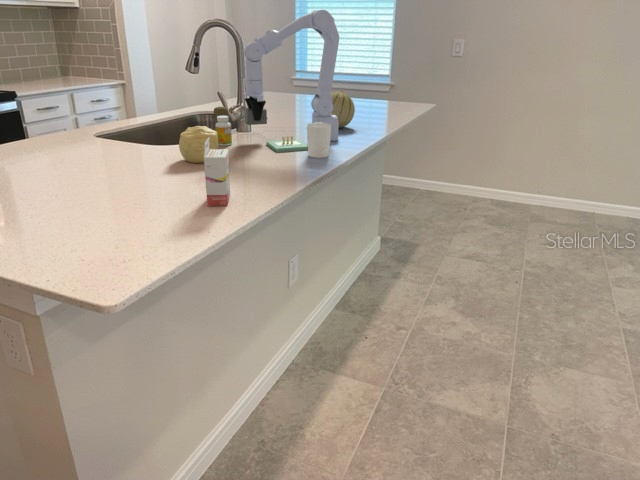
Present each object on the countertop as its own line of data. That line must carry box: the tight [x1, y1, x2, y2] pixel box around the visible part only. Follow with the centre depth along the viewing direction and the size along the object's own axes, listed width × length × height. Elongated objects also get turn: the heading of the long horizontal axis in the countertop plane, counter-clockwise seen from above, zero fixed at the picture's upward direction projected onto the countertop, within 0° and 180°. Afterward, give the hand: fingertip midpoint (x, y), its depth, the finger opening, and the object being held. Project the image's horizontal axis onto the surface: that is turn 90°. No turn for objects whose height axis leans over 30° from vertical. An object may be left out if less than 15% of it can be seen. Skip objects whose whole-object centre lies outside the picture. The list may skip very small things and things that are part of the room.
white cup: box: [306, 122, 331, 159], centre depth 161 cm, size 8×8×10 cm
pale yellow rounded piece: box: [178, 125, 219, 164], centre depth 152 cm, size 12×12×11 cm
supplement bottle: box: [214, 115, 233, 147], centre depth 173 cm, size 5×5×10 cm
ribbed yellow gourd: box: [331, 89, 356, 129], centre depth 205 cm, size 15×15×15 cm
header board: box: [266, 135, 308, 153], centre depth 172 cm, size 12×12×4 cm
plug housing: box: [243, 107, 268, 126], centre depth 177 cm, size 7×4×5 cm, turn 112°
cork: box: [213, 106, 229, 131], centre depth 185 cm, size 6×6×11 cm
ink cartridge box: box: [203, 138, 231, 207], centre depth 117 cm, size 9×5×15 cm, turn 5°
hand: (255, 119), depth 177 cm, fingers closed on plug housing, 4 cm apart
